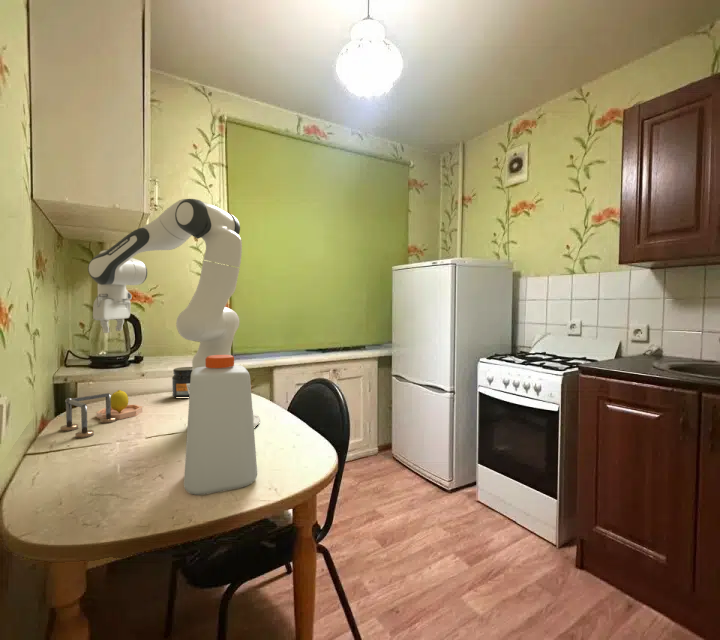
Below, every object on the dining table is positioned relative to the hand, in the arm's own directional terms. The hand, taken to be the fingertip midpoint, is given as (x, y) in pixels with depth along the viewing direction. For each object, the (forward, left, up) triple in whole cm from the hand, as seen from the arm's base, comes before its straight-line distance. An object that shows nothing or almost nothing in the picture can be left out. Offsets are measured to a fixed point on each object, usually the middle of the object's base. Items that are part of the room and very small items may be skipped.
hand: (112, 331), depth 138 cm
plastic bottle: (-51, +63, -29) cm, 86 cm away
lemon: (-5, +7, -28) cm, 30 cm away
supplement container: (-20, -18, -29) cm, 40 cm away
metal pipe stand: (-2, +22, -29) cm, 37 cm away
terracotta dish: (-5, +7, -29) cm, 30 cm away
